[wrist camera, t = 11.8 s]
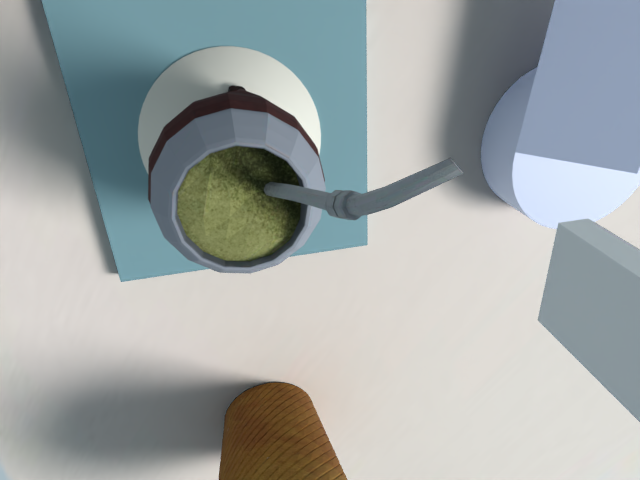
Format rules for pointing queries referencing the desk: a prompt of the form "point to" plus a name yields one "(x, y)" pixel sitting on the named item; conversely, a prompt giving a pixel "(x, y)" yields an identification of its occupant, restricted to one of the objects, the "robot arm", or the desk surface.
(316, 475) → the disposable coffee cup
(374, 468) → the desk surface
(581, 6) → the wedge on round base
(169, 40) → the mat
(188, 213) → the mate gourd
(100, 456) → the desk surface
